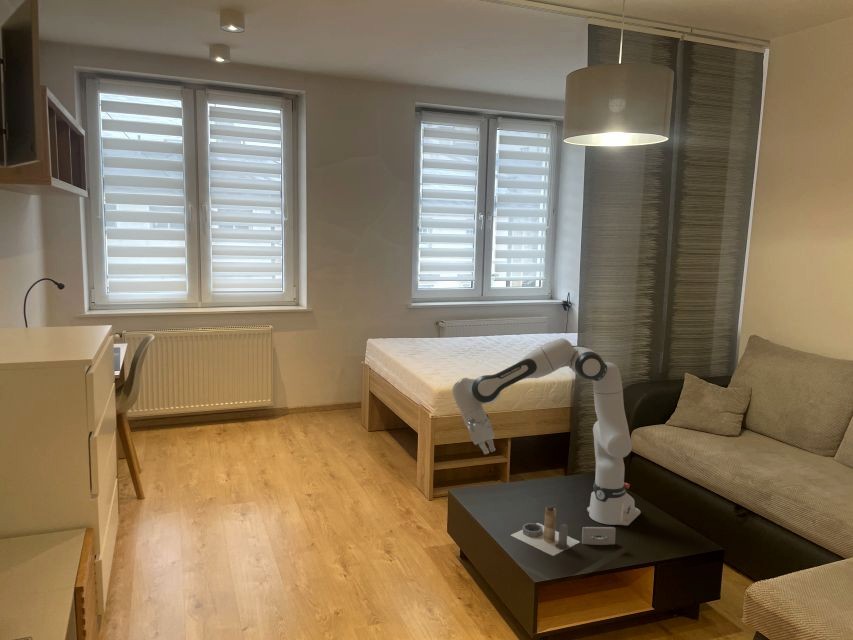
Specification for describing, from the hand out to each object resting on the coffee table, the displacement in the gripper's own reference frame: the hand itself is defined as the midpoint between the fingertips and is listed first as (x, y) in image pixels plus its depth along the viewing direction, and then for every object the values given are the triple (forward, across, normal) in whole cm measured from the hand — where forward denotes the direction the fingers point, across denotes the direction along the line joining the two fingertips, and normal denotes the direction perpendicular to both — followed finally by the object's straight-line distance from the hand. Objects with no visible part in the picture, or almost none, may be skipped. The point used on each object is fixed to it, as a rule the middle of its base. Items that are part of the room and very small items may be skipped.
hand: (490, 452), depth 248 cm
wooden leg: (+38, +1, -7) cm, 38 cm away
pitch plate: (+38, +2, -5) cm, 38 cm away
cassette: (+47, +6, -21) cm, 52 cm away
